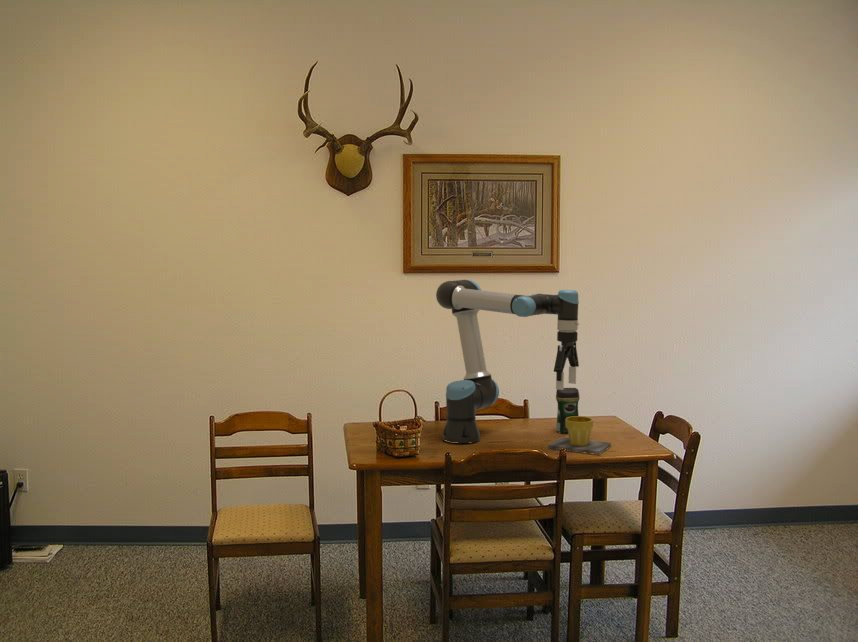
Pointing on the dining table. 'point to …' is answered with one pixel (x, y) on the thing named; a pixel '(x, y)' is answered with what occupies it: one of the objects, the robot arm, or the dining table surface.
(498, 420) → the dining table surface
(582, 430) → the plant pot
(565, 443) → the trivet board
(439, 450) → the dining table surface
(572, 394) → the coffee jar
